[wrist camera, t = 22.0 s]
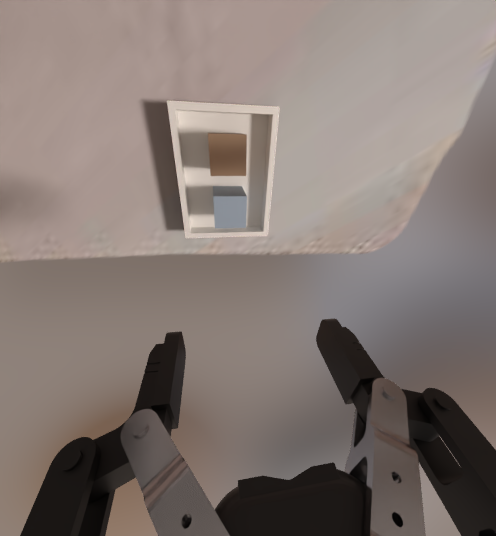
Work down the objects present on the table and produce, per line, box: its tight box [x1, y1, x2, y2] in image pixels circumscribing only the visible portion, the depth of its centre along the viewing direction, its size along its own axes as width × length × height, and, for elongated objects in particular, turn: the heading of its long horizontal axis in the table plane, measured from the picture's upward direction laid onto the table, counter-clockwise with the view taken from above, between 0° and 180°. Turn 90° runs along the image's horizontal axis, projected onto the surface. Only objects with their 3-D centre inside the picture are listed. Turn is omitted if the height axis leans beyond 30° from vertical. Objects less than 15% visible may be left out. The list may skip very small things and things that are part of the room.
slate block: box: [213, 186, 247, 228], centre depth 32 cm, size 4×4×6 cm
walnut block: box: [208, 133, 247, 176], centre depth 28 cm, size 4×4×6 cm
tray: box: [167, 101, 280, 238], centre depth 32 cm, size 14×18×4 cm
